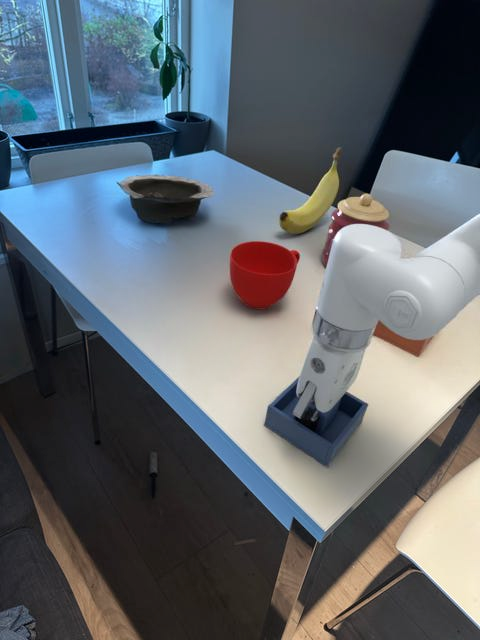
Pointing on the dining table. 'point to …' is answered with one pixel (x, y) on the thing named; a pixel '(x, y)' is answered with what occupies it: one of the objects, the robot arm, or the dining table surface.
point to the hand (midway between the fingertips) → (314, 419)
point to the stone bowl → (164, 196)
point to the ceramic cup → (262, 272)
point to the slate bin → (307, 440)
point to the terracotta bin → (400, 339)
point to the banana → (313, 203)
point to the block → (324, 417)
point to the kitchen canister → (355, 218)
